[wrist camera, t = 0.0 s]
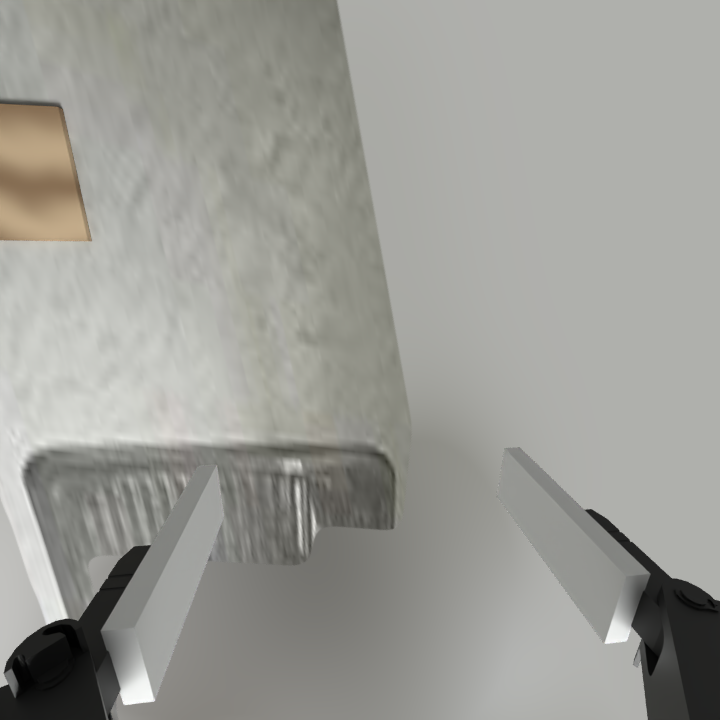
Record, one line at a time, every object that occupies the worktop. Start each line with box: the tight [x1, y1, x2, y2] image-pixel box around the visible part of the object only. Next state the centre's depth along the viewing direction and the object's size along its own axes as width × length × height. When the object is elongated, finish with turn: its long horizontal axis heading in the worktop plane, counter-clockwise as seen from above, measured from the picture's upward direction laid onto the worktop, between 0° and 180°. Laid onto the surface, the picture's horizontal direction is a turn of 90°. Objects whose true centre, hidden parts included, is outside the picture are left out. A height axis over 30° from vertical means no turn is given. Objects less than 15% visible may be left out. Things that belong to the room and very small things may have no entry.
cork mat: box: [0, 104, 92, 241], centre depth 33 cm, size 12×12×1 cm
